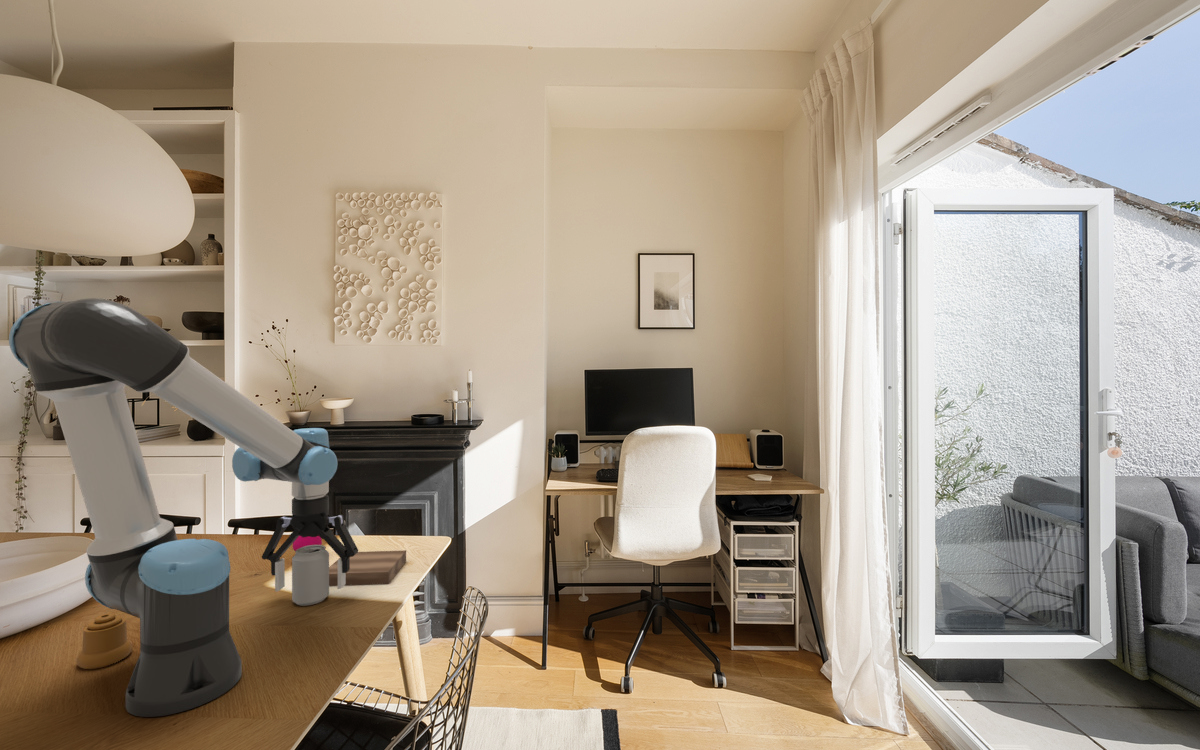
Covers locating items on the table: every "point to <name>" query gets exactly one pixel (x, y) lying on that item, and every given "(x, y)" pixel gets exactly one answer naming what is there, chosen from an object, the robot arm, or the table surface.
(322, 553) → the can
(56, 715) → the table surface
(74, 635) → the table surface
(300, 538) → the pepper mill
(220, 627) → the robot arm
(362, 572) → the walnut plinth
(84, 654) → the ornamental finial
